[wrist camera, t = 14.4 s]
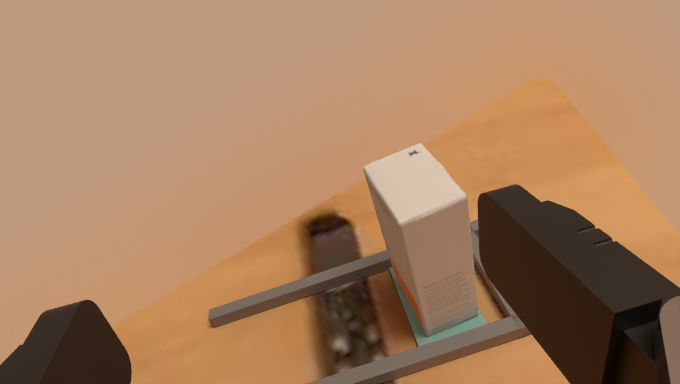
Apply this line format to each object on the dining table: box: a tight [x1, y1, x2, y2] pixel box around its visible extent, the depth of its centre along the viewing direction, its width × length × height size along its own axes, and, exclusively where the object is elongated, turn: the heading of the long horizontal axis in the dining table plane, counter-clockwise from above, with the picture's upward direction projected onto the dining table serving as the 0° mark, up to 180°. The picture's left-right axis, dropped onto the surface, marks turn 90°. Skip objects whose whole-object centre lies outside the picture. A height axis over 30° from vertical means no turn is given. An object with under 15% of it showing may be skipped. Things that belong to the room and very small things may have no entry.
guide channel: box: [209, 220, 531, 384], centre depth 32 cm, size 27×10×2 cm, turn 102°
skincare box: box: [363, 143, 479, 336], centre depth 28 cm, size 6×4×12 cm
